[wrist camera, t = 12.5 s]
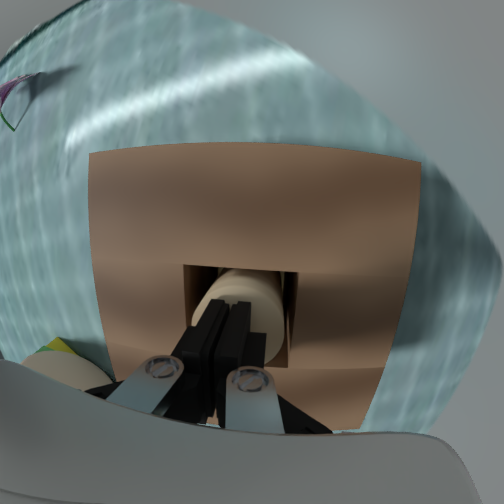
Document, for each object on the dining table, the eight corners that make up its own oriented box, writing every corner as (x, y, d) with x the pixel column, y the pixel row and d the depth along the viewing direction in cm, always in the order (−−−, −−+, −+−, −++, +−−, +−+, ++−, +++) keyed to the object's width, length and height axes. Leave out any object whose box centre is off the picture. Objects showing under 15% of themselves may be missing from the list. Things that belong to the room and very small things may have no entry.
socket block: (338, 355, 22) (359, 428, 14) (166, 341, 24) (123, 403, 15) (363, 171, 19) (421, 162, 10) (158, 162, 20) (89, 153, 11)
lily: (64, 95, 20) (23, 39, 11) (-3, 176, 18) (-56, 135, 9) (43, 81, 23) (12, 41, 14) (-10, 144, 21) (-46, 110, 12)
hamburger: (53, 362, 27) (3, 409, 16) (60, 325, 25) (-6, 375, 14) (120, 416, 28) (81, 477, 16) (137, 387, 26) (89, 461, 14)
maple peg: (278, 310, 18) (278, 373, 11) (220, 305, 19) (193, 363, 12) (284, 254, 17) (289, 293, 11) (222, 249, 18) (190, 284, 11)
